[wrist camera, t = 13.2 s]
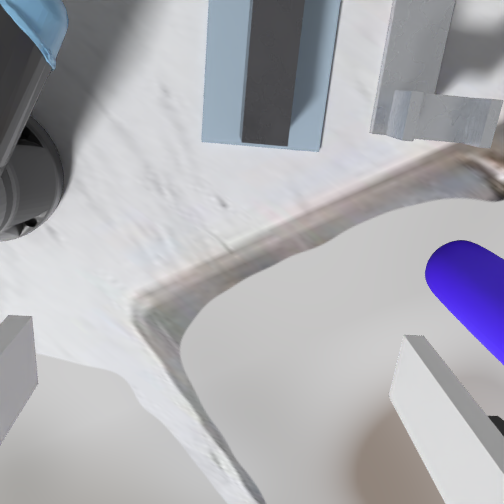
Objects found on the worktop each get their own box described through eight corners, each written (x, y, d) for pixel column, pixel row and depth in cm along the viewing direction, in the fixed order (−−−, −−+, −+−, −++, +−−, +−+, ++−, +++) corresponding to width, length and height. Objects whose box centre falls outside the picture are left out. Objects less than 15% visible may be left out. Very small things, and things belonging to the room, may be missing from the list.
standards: (360, 132, 50) (400, 146, 38) (399, -96, 42) (463, -160, 31) (429, 138, 50) (488, 154, 39) (479, -84, 43) (570, -143, 32)
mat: (201, 141, 49) (201, 141, 48) (217, -156, 40) (217, -159, 39) (317, 151, 50) (318, 151, 50) (358, -135, 41) (360, -138, 40)
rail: (280, 139, 49) (287, 146, 43) (239, 135, 48) (241, 142, 43) (310, -131, 40) (324, -166, 35) (261, -138, 40) (267, -174, 34)
